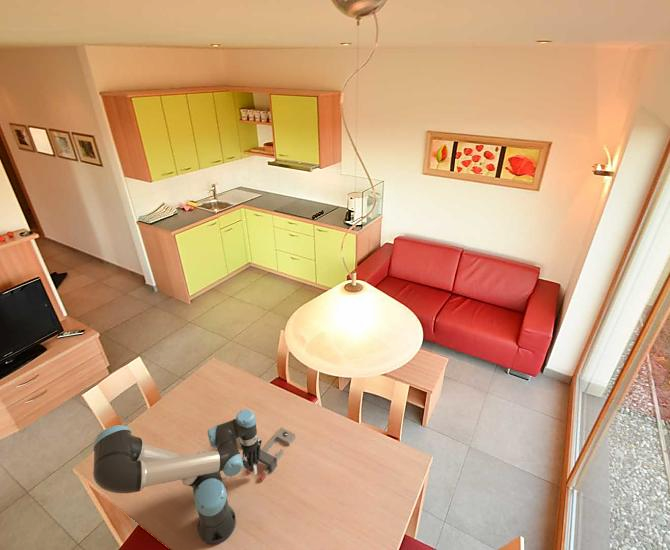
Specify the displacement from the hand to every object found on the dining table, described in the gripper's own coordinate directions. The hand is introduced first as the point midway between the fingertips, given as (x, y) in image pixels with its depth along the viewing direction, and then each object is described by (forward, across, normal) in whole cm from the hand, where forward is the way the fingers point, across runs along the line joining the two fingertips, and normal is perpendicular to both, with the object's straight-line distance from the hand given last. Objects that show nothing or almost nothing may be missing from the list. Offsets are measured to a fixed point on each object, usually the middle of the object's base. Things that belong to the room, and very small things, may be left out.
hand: (253, 472), depth 179 cm
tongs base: (+3, +14, 0) cm, 14 cm away
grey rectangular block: (+3, +8, 0) cm, 8 cm away
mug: (+4, +13, +18) cm, 22 cm away
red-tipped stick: (+3, +8, -4) cm, 10 cm away
